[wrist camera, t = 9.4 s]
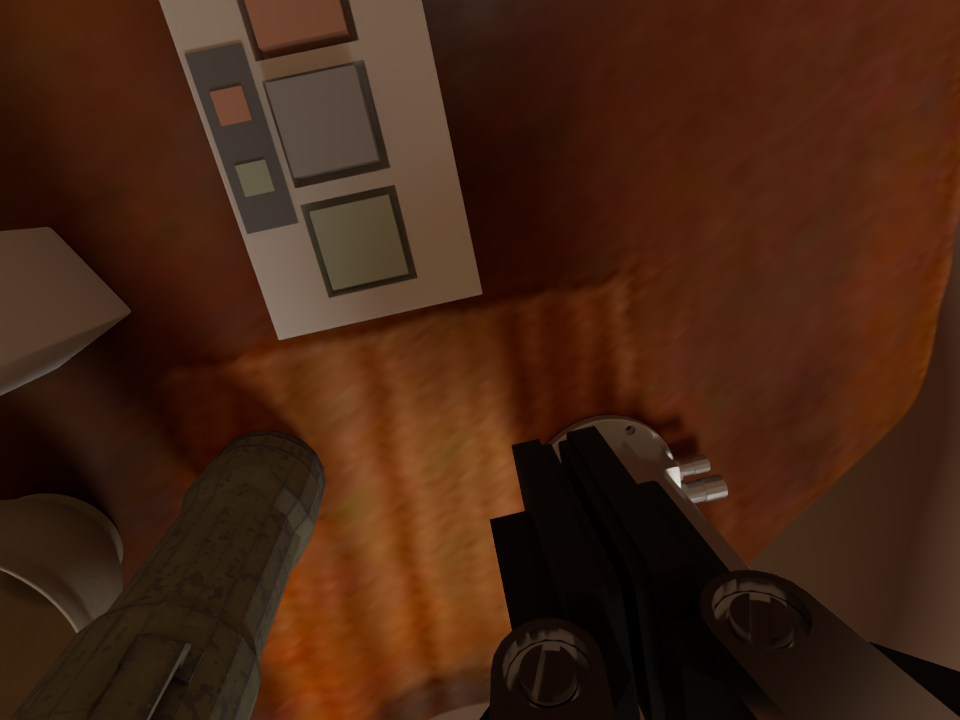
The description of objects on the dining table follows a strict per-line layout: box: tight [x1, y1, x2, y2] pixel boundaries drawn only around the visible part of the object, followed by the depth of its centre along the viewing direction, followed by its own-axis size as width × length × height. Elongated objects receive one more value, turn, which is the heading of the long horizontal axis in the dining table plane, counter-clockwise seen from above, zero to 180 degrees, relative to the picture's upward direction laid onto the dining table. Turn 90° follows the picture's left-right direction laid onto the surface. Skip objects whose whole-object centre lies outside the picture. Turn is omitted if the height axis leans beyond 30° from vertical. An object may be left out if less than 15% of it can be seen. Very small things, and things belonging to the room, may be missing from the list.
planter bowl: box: [0, 493, 123, 720], centre depth 36 cm, size 16×16×11 cm
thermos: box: [9, 431, 325, 720], centre depth 25 cm, size 9×12×35 cm
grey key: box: [265, 65, 381, 179], centre depth 30 cm, size 5×5×2 cm
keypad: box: [159, 0, 482, 340], centre depth 32 cm, size 14×24×4 cm, turn 12°
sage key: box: [309, 194, 409, 290], centre depth 34 cm, size 5×5×2 cm
